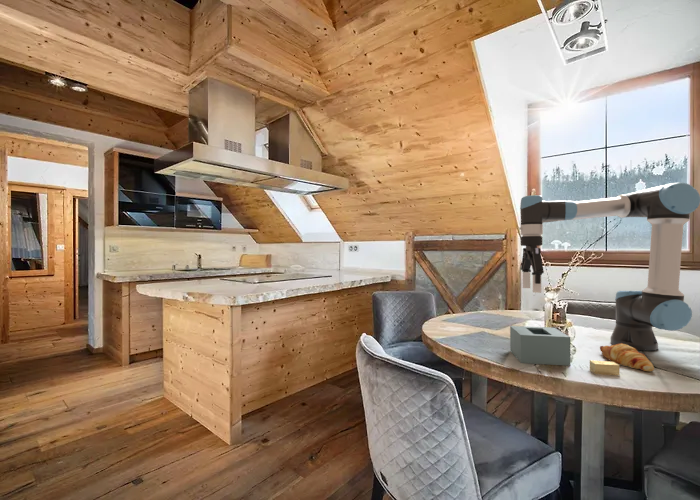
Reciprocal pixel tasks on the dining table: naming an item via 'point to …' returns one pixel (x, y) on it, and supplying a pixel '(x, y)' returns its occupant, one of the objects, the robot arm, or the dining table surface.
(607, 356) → the croissant
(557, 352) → the coin box
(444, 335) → the dining table surface
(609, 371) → the pale yellow block
